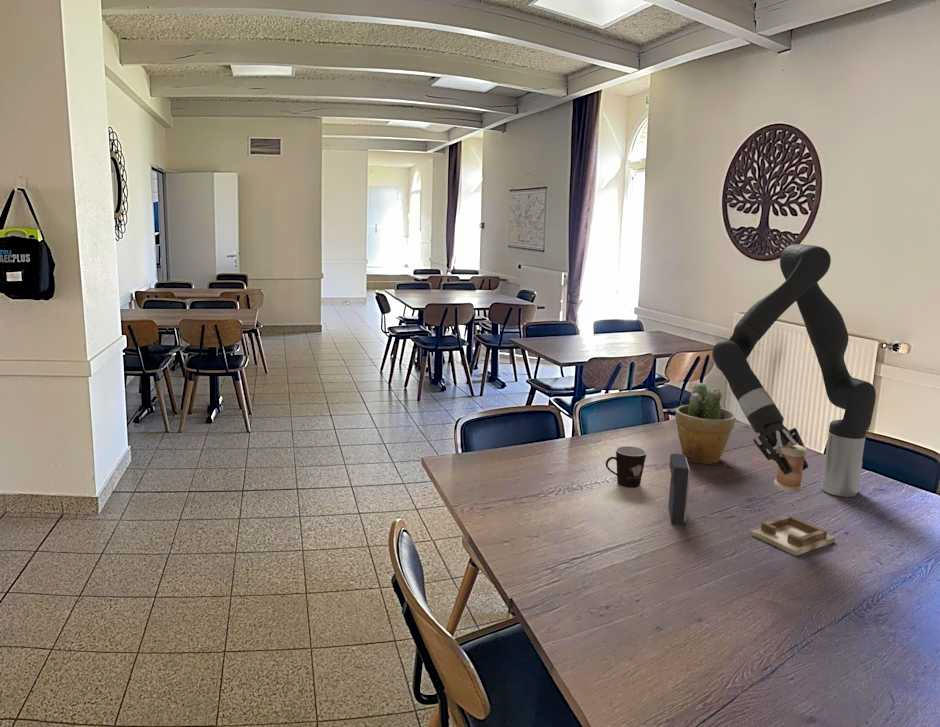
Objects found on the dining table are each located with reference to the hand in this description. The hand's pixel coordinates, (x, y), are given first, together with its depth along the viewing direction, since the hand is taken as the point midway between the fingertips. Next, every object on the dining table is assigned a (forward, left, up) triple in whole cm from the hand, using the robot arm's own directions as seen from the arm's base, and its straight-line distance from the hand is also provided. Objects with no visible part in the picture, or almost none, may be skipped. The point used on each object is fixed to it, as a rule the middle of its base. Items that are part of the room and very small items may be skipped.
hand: (796, 470), depth 167 cm
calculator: (+16, -22, -17) cm, 32 cm away
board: (0, +1, -17) cm, 17 cm away
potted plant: (-25, -50, -17) cm, 58 cm away
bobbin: (0, -2, -5) cm, 5 cm away
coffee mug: (+13, -45, -17) cm, 50 cm away
